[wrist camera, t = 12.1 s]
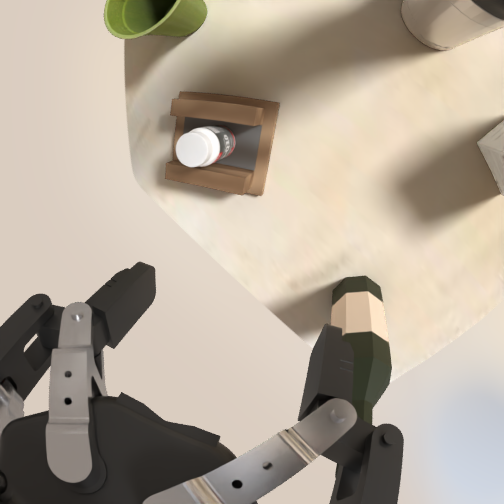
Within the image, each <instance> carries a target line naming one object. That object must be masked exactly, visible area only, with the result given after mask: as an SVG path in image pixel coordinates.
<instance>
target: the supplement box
mask: <svg viewBox="0 0 504 504" xmlns="http://www.w3.org/2000/svg"><path fill="white" fill-rule="evenodd" d="M477 145H478V147H479V148H480V150H481V152H482V154H483V156H484V158H485V160H486V162H487V164H488V166H489V168H490V170H491V172H492V175H493V177H494V179H495V181H496V183H497V186H498V188H499V190H500V193H501V194H502V195H503V196H504V120H503V121H502V122H501V123H499V124H498V125H497V126H496V127H495V128H494V129H492V130H491V131H490V132H489V133H488V134H486V135H485V136H484V137H483V138H481V139H480V140H479V141H478V142H477Z"/></svg>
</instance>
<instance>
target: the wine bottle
mask: <svg viewBox="0 0 504 504" xmlns="http://www.w3.org/2000/svg"><path fill="white" fill-rule="evenodd" d="M331 325H333V326H336V327H340V328H342V341H345V342H349V343H350V344H351V347H352V349H353V351H354V363H353V365H354V370H353V390H352V406H353V407H354V408H355V410H356V414H357V415H358V417H360V418H361V419H362V420H364V421H366V422H368V423H370V424H372V409H373V407H374V406H375V404H376V403H377V402H378V400H379V399H380V397H381V395H382V394H383V393H384V391H385V390H386V388H387V386H388V385H389V382H390V376H391V370H392V366H391V356H390V347H389V339H388V332H387V325H386V318H385V312H384V306H383V300H382V294H381V289H380V286H379V285H377V284H376V283H375V282H373V281H372V280H371V279H369V278H368V277H367V276H358V277H346V278H345V279H344V280H343V281H342V282H341V283H340V284H339V285H338V286H337V287H336V288H335V289H334V290H333V296H332V312H331ZM338 468H339V464H338V463H337V467H336V474H335V475H336V476H337V472H338ZM336 476H335V477H336Z"/></svg>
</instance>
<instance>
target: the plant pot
mask: <svg viewBox="0 0 504 504" xmlns="http://www.w3.org/2000/svg"><path fill="white" fill-rule="evenodd" d="M206 15H207V8H206V5H205V3H204V1H203V0H107V1H106V4H105V10H104V21H105V25H106V27H107V29H108V31H110V33H112V35H114V36H115V37H118V38H121V39H133V38H138V37H141V36H144V35H164V36H176V37H182V36H186V35H188V34H190V33H192V32H194V31H196V30H197V29H198V28H199V27H200V26H201V25H202V24H203V22H204V21H205V18H206Z"/></svg>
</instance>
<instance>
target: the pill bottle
mask: <svg viewBox="0 0 504 504" xmlns="http://www.w3.org/2000/svg"><path fill="white" fill-rule="evenodd" d="M234 147H235V137H234V135H233V133H232V131H231V130H230V129H228V128H227V127H225V126H222V125H213V126H207V127H201V128H196V129H193V130H192V131H190V132H189V133H186V134H184V135H182V136H181V137H180V138H179V140H178V141H177V144H176V155H177V157H178V159H179V161H180V162H181V163H182V164H184V165H185V166H188V167H197V166H200V167H203V166H208V165H210V164H212V163H215V162H217V161H219V160H221V159H223V158H226V157H227V156H229V155H230V154H231V153H232V151H233V150H234Z"/></svg>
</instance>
